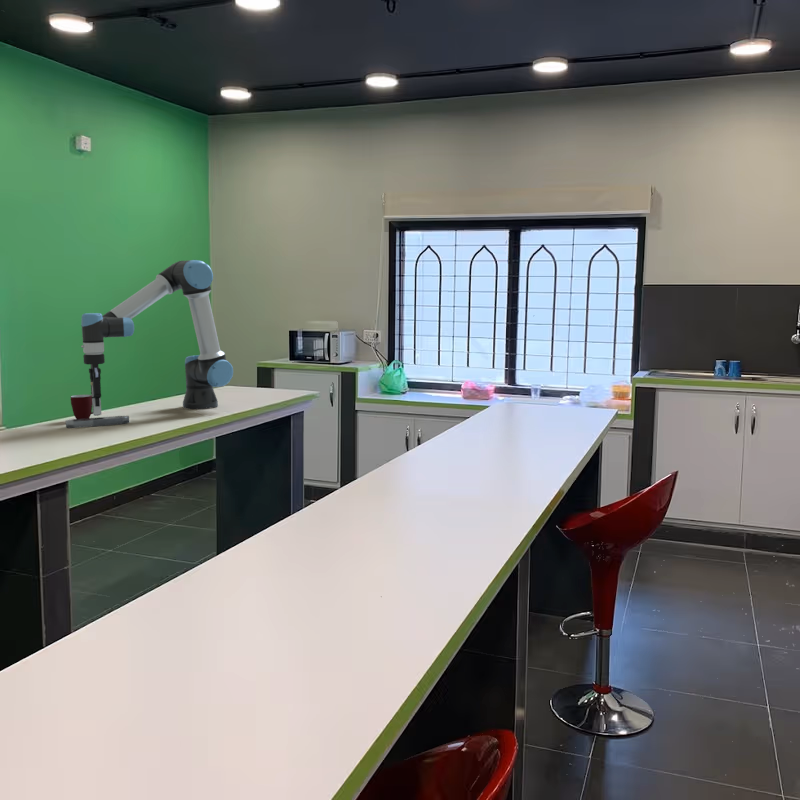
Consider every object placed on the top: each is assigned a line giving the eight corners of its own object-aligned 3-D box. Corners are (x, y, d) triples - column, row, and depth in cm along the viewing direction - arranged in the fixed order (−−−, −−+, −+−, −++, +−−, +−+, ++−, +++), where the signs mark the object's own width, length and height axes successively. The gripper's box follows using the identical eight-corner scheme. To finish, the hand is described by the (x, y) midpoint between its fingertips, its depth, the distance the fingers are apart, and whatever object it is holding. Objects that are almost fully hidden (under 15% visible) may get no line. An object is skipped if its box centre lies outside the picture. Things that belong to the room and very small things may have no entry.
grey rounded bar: (128, 421, 314) (127, 415, 314) (130, 423, 310) (129, 417, 310) (65, 426, 304) (65, 419, 304) (66, 428, 299) (66, 422, 299)
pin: (101, 414, 309) (99, 381, 307) (102, 415, 306) (100, 382, 304) (91, 414, 307) (90, 382, 305) (92, 415, 304) (91, 383, 302)
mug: (98, 417, 324) (96, 393, 322) (101, 420, 317) (100, 395, 315) (70, 420, 318) (69, 395, 317) (73, 422, 312) (72, 397, 310)
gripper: (81, 352, 308) (84, 411, 311) (85, 355, 294) (89, 417, 298) (101, 351, 311) (104, 410, 315) (106, 354, 298) (110, 416, 301)
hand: (97, 413), depth 306 cm, fingers closed on pin, 2 cm apart
